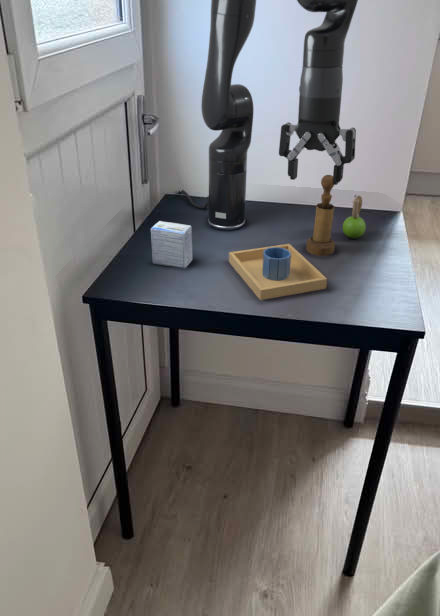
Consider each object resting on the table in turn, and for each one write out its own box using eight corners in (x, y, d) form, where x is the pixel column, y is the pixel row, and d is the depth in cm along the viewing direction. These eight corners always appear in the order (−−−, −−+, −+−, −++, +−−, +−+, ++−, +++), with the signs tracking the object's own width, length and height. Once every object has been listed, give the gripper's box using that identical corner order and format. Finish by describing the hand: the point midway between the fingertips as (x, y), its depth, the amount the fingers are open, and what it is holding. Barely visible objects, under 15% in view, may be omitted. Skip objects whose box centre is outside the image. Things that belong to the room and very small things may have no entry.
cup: (257, 270, 121) (258, 249, 118) (282, 266, 123) (284, 245, 120) (268, 282, 116) (269, 260, 114) (294, 278, 118) (295, 256, 115)
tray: (228, 263, 125) (229, 252, 123) (288, 254, 129) (289, 243, 128) (260, 302, 111) (260, 290, 109) (325, 290, 115) (327, 278, 113)
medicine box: (192, 261, 125) (192, 225, 121) (185, 270, 122) (184, 233, 117) (160, 255, 127) (158, 220, 123) (152, 264, 124) (150, 227, 119)
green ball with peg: (338, 241, 135) (344, 193, 129) (343, 231, 140) (350, 185, 134) (361, 245, 134) (368, 196, 127) (365, 235, 139) (373, 188, 132)
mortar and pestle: (333, 258, 127) (343, 181, 118) (304, 255, 128) (312, 179, 119) (334, 246, 133) (344, 171, 123) (306, 243, 134) (314, 169, 124)
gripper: (364, 92, 102) (355, 180, 110) (290, 88, 107) (286, 172, 115) (354, 98, 96) (344, 191, 104) (276, 93, 101) (272, 181, 109)
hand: (314, 181), depth 109 cm, fingers open, 8 cm apart
